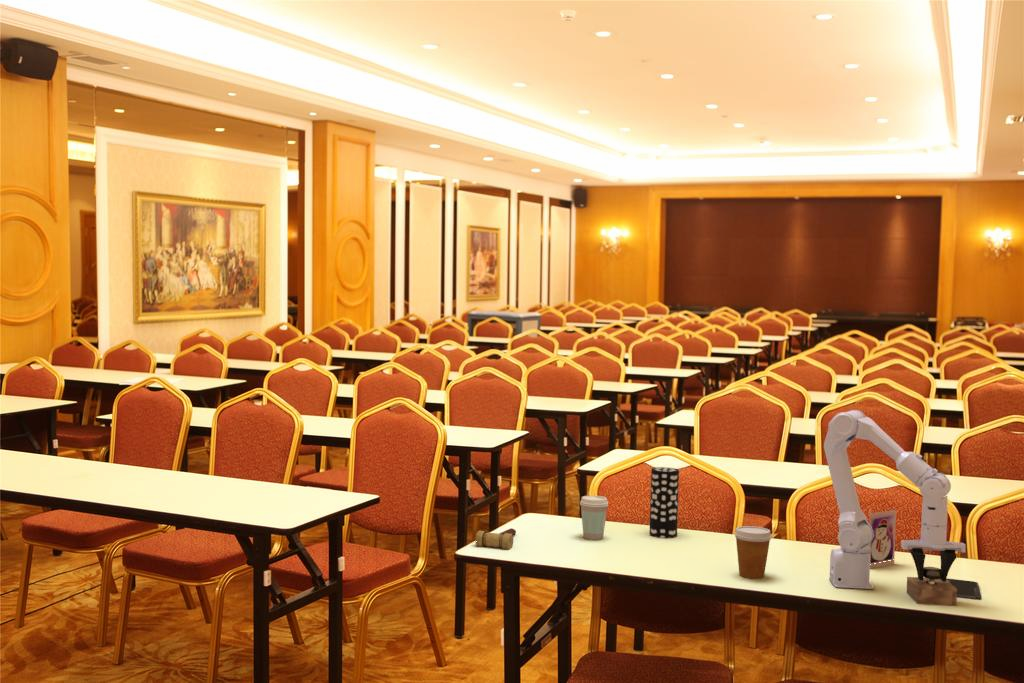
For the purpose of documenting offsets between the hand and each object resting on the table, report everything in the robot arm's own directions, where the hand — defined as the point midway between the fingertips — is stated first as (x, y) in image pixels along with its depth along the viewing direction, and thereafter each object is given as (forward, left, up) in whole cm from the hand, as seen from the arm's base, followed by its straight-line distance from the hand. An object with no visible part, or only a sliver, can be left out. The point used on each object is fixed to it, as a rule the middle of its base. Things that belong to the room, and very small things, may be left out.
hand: (931, 579), depth 245 cm
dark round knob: (0, 0, -5) cm, 5 cm away
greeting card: (-6, +32, -5) cm, 33 cm away
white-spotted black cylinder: (-62, +56, -5) cm, 83 cm away
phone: (+10, +10, -5) cm, 15 cm away
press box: (0, 0, -5) cm, 5 cm away
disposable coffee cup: (-41, +14, -5) cm, 43 cm away
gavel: (-109, +38, -5) cm, 116 cm away
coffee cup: (-83, +48, -5) cm, 96 cm away
